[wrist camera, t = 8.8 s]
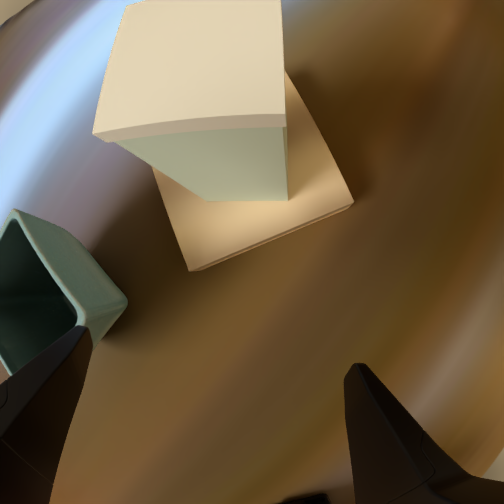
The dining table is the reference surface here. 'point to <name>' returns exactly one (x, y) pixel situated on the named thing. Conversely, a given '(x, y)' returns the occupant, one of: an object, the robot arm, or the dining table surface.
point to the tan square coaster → (260, 212)
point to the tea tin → (201, 95)
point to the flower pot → (49, 289)
